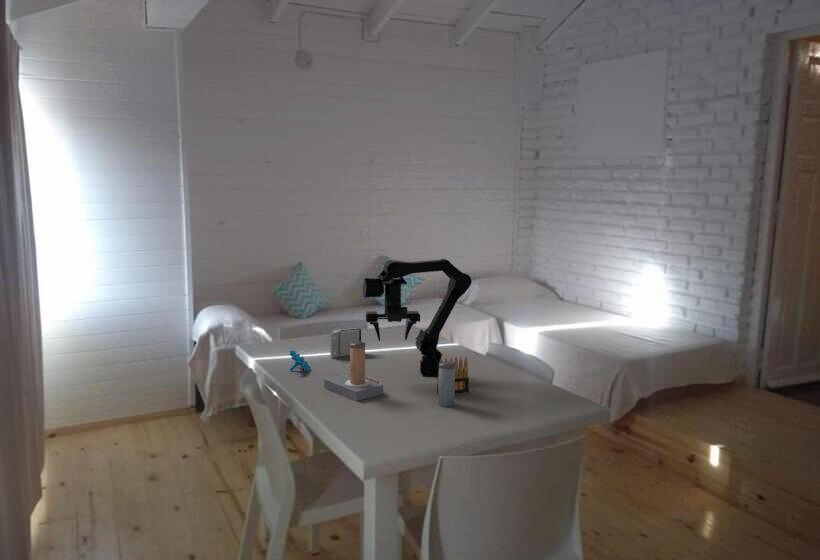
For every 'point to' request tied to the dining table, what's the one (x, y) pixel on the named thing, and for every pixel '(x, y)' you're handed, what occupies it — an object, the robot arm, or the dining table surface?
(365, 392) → the dock unit
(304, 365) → the gear
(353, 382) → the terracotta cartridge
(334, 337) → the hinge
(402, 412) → the dining table surface
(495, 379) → the dining table surface
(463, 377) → the ammunition clip
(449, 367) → the cylinder
